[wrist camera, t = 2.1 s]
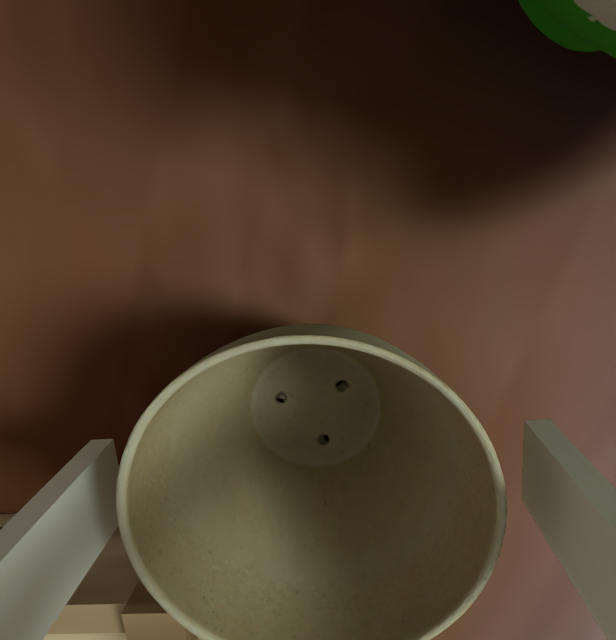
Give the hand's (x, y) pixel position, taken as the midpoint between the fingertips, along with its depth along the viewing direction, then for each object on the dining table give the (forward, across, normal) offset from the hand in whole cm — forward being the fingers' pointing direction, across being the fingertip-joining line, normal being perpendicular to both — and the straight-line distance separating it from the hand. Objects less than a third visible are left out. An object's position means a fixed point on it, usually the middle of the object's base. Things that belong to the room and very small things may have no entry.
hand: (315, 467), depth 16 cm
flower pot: (+4, 0, 0) cm, 4 cm away
